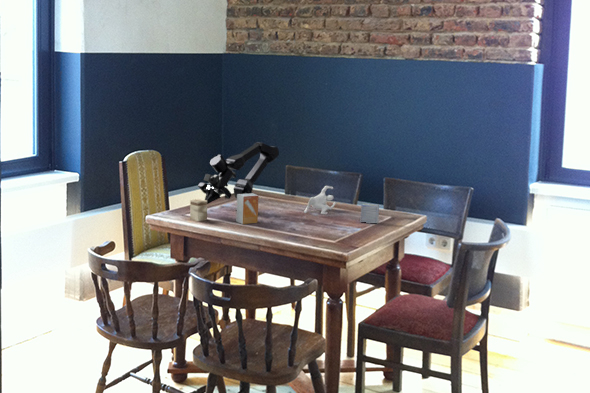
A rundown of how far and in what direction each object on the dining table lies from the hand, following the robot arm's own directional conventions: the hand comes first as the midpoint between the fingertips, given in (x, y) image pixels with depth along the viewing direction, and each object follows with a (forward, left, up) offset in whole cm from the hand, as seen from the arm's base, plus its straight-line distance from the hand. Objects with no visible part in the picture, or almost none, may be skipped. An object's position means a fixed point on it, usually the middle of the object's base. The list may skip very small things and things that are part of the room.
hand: (204, 204), depth 307 cm
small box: (-12, +17, -7) cm, 22 cm away
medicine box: (-60, +50, -7) cm, 78 cm away
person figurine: (-59, +18, -7) cm, 62 cm away
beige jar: (+3, 0, -7) cm, 8 cm away
